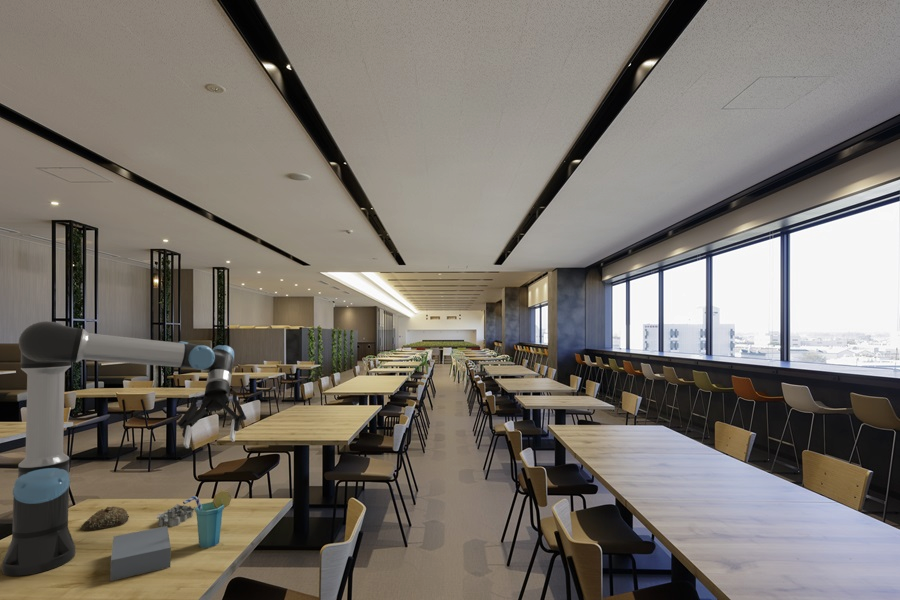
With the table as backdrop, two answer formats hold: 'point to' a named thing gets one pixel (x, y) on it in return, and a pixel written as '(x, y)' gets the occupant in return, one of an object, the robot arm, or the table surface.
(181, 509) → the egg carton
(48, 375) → the robot arm
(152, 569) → the slate block
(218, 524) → the cup
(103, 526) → the bread roll
